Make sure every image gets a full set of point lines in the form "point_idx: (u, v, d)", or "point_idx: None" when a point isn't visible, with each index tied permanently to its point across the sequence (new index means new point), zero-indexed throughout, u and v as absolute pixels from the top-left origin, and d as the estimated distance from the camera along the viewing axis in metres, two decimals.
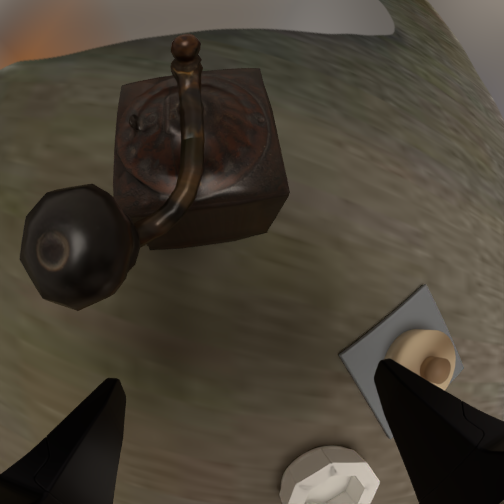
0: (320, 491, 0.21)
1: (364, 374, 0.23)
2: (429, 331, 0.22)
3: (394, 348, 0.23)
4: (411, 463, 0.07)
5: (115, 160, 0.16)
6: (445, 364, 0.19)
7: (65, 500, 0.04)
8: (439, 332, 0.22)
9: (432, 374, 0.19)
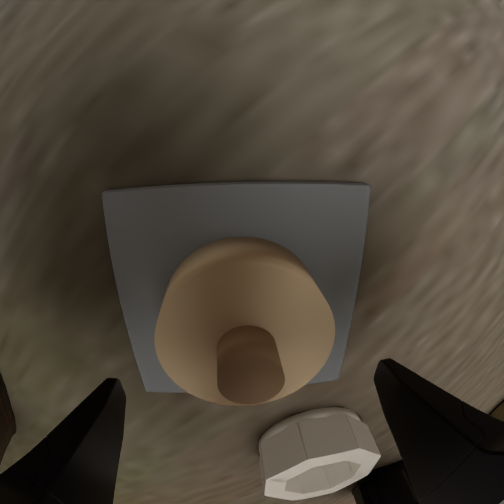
0: None
1: None
2: (161, 315, 0.10)
3: None
4: (411, 463, 0.07)
5: None
6: (244, 371, 0.09)
7: (65, 499, 0.04)
8: (183, 291, 0.10)
9: (237, 403, 0.09)
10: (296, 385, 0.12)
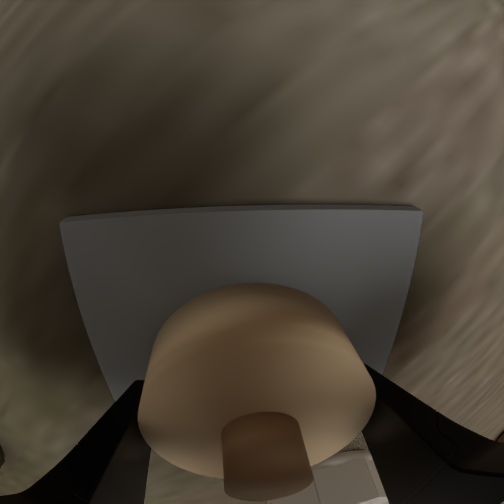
0: None
1: None
2: (144, 402, 0.06)
3: None
4: (384, 473, 0.07)
5: None
6: (261, 479, 0.05)
7: None
8: (171, 377, 0.06)
9: (251, 500, 0.06)
10: (319, 459, 0.08)
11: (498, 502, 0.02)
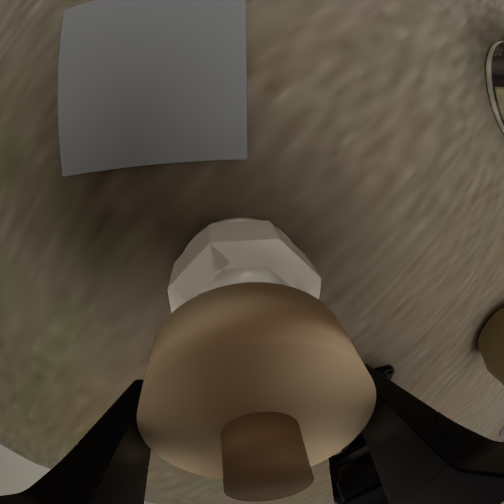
0: None
1: (102, 154, 0.15)
2: (143, 401, 0.06)
3: None
4: (384, 473, 0.07)
5: None
6: (260, 480, 0.05)
7: None
8: (169, 376, 0.06)
9: None
10: (320, 459, 0.08)
11: (498, 502, 0.02)
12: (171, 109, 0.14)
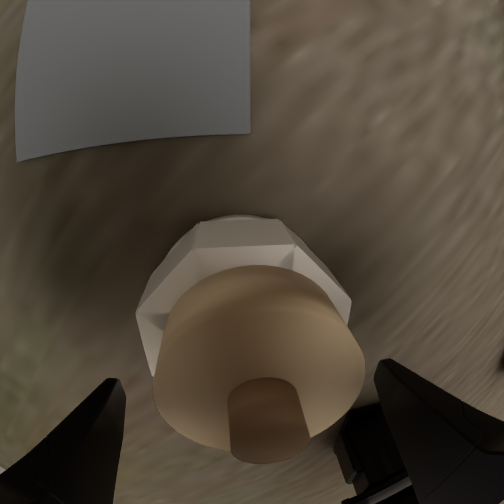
0: None
1: (62, 130, 0.10)
2: (160, 368, 0.08)
3: None
4: (411, 463, 0.07)
5: None
6: (263, 436, 0.07)
7: (65, 500, 0.04)
8: (185, 343, 0.07)
9: (254, 463, 0.07)
10: (317, 430, 0.10)
11: None
12: (149, 69, 0.10)
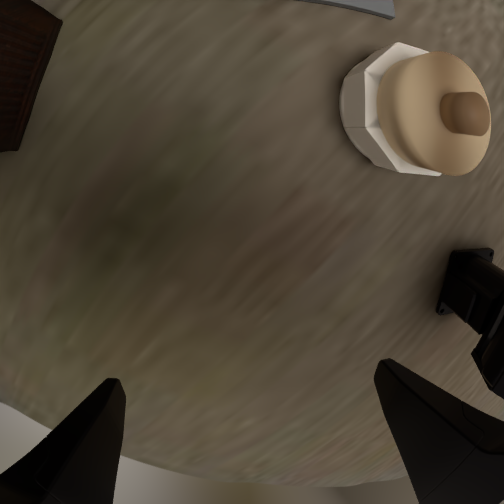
0: None
1: None
2: (411, 70, 0.11)
3: (388, 126, 0.13)
4: (411, 463, 0.07)
5: None
6: (474, 100, 0.10)
7: (65, 499, 0.04)
8: (423, 58, 0.10)
9: (471, 131, 0.10)
10: (476, 160, 0.13)
11: None
12: None
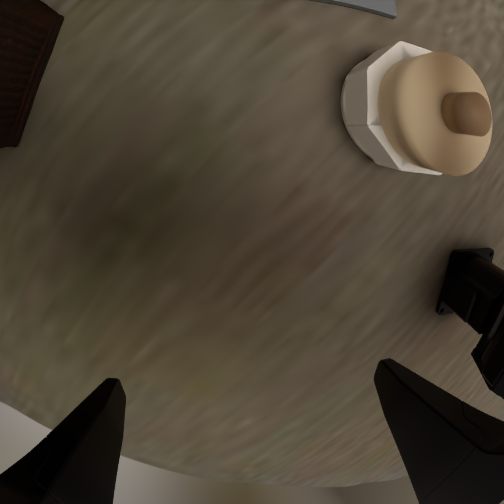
0: None
1: None
2: (413, 70, 0.11)
3: (390, 126, 0.13)
4: (411, 463, 0.07)
5: None
6: (475, 101, 0.10)
7: (65, 500, 0.04)
8: (425, 57, 0.10)
9: (472, 131, 0.10)
10: (477, 160, 0.13)
11: None
12: None
